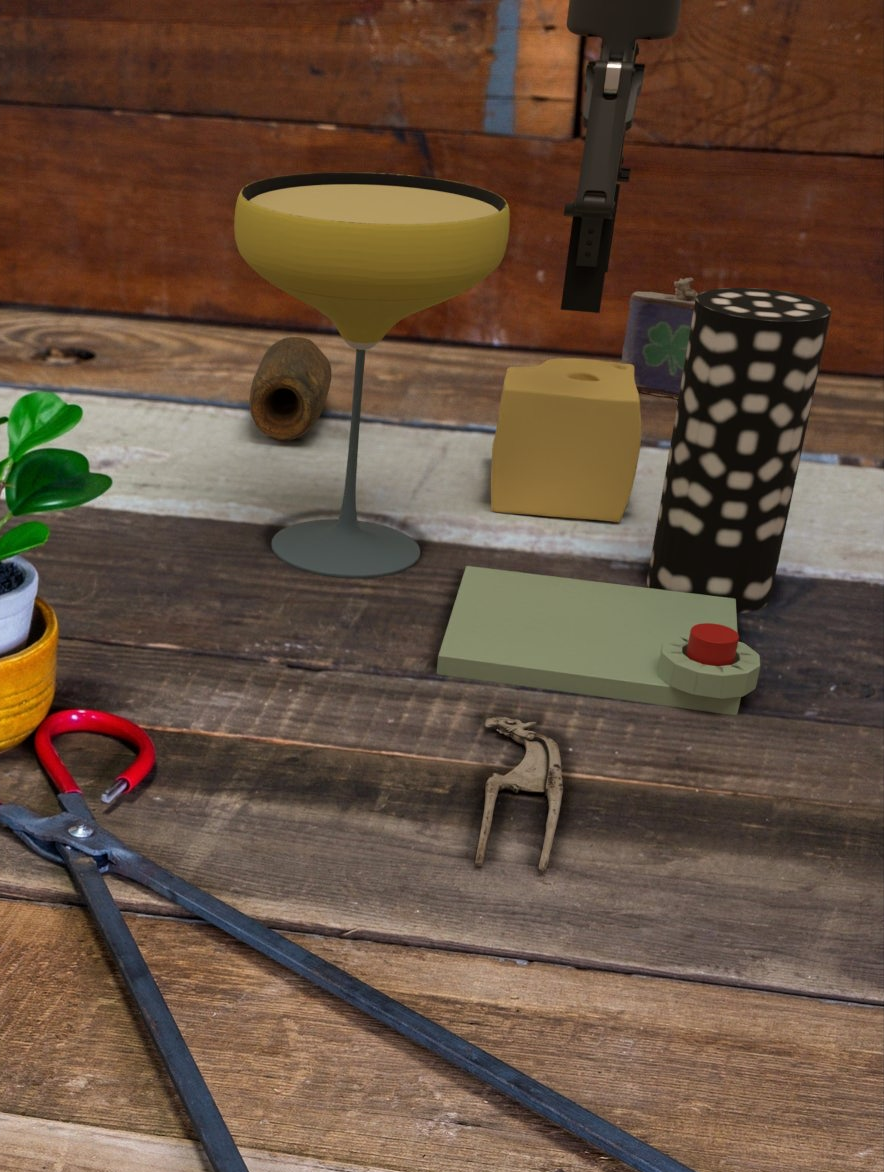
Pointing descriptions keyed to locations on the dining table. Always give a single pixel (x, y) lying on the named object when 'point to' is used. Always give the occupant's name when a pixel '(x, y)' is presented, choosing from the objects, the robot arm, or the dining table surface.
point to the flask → (659, 338)
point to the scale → (592, 640)
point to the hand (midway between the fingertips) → (585, 289)
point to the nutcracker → (526, 780)
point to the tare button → (712, 644)
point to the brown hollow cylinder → (290, 388)
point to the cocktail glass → (365, 301)
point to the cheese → (567, 440)
